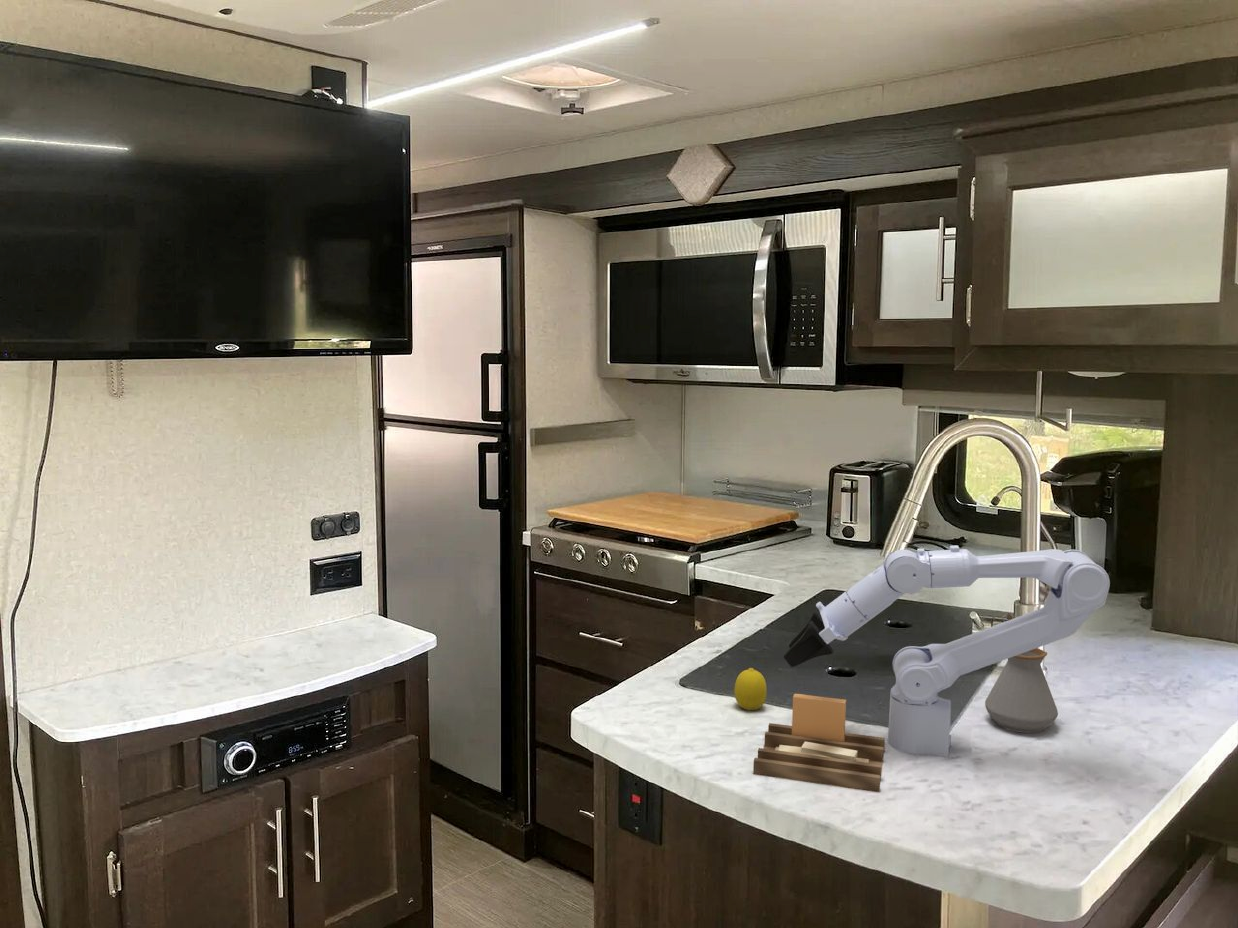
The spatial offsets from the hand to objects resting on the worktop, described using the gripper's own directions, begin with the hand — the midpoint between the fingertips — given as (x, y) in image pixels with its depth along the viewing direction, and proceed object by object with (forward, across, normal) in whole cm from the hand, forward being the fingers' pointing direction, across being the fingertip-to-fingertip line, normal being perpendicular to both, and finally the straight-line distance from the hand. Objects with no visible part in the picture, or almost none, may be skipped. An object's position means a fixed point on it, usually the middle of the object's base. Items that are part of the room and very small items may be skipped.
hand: (790, 655), depth 158 cm
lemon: (+15, -10, +5) cm, 19 cm away
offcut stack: (+5, +8, +14) cm, 17 cm away
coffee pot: (-19, -24, +34) cm, 45 cm away
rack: (+5, +8, +15) cm, 18 cm away
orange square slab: (+5, +3, +13) cm, 15 cm away
